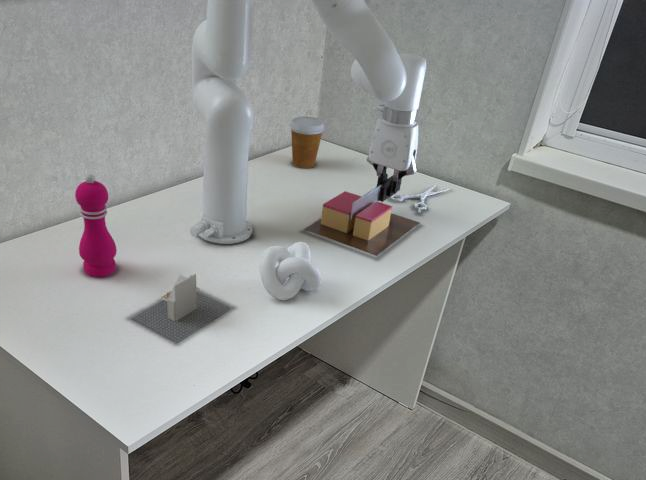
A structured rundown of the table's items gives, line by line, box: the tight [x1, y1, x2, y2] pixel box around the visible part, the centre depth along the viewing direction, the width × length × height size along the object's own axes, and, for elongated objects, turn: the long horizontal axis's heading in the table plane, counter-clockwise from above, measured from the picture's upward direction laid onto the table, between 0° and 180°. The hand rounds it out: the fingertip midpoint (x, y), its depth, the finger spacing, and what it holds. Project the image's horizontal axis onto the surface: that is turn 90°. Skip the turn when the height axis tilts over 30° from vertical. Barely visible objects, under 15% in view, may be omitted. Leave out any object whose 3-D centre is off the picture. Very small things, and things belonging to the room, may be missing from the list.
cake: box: [320, 191, 363, 233], centre depth 150 cm, size 10×7×5 cm
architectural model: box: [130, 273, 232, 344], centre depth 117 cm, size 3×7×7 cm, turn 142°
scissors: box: [389, 184, 450, 213], centre depth 167 cm, size 11×1×20 cm
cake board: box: [303, 212, 421, 257], centre depth 151 cm, size 22×19×1 cm
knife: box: [350, 175, 403, 220], centre depth 149 cm, size 22×2×4 cm, turn 144°
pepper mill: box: [74, 173, 117, 278], centre depth 124 cm, size 7×7×20 cm
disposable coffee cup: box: [289, 116, 326, 169], centre depth 179 cm, size 10×10×12 cm
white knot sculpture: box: [259, 241, 322, 301], centre depth 124 cm, size 11×12×9 cm
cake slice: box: [353, 201, 393, 241], centre depth 147 cm, size 10×4×5 cm, turn 143°
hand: (386, 192), depth 154 cm, fingers closed on knife, 2 cm apart
